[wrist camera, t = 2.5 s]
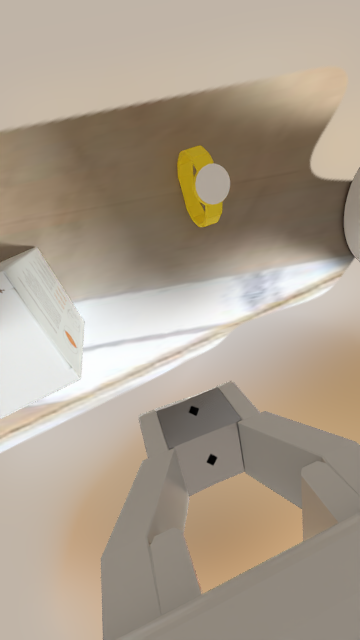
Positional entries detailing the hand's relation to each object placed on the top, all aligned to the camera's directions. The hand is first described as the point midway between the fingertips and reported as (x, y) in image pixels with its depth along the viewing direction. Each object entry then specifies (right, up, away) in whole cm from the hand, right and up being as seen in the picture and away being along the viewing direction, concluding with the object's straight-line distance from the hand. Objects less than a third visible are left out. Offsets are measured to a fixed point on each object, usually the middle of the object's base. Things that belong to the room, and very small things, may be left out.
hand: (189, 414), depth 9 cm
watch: (0, +15, +17) cm, 23 cm away
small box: (-13, +5, +17) cm, 22 cm away
